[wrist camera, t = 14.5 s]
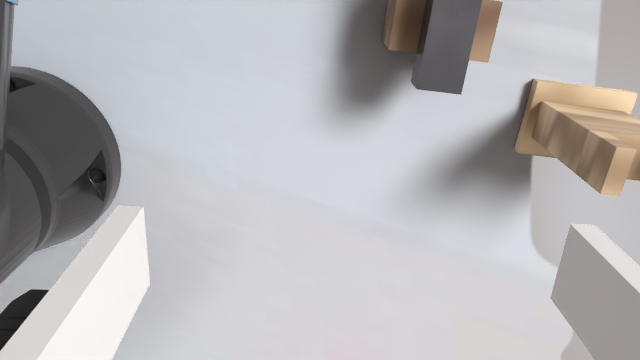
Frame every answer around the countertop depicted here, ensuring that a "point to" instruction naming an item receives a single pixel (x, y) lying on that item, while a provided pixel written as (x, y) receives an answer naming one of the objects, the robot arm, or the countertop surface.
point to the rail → (445, 45)
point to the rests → (407, 24)
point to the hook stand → (583, 131)
